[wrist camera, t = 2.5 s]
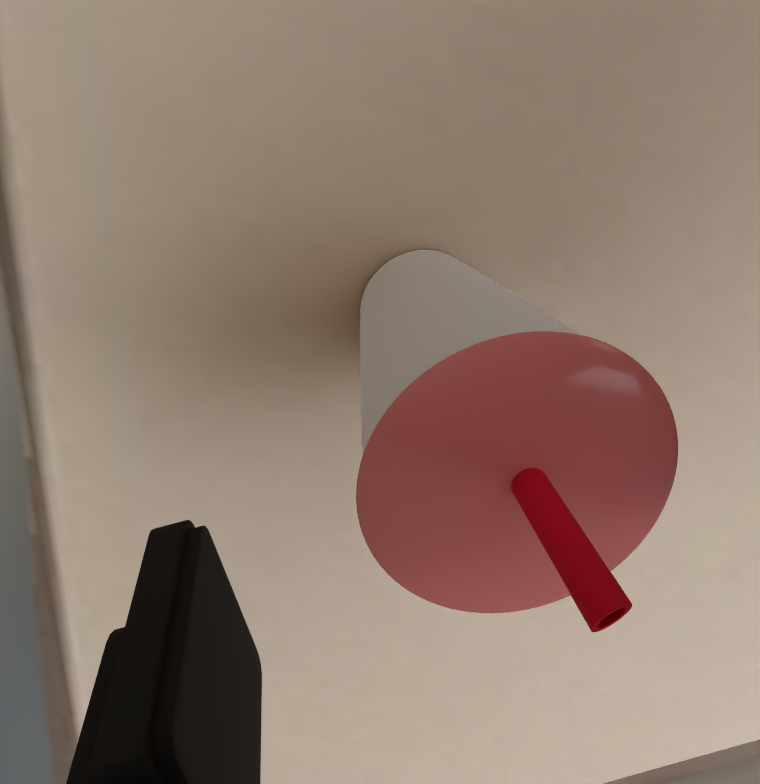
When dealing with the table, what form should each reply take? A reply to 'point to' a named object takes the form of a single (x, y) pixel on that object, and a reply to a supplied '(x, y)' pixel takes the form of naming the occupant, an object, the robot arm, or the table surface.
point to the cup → (502, 445)
